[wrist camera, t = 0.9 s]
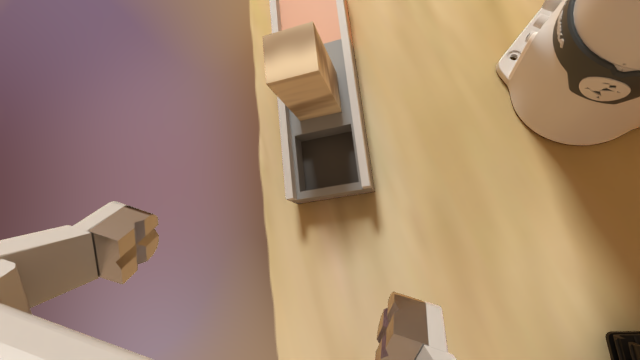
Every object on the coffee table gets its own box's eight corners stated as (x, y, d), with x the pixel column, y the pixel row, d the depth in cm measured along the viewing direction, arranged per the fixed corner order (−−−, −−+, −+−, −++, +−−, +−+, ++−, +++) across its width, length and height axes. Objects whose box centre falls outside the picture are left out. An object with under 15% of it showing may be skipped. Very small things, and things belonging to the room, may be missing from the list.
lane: (374, 191, 45) (369, 185, 41) (297, 203, 48) (285, 199, 43) (345, -7, 52) (338, -30, 48) (280, 13, 55) (268, -7, 51)
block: (341, 111, 45) (318, 70, 35) (300, 120, 47) (266, 83, 36) (336, 72, 47) (312, 21, 36) (296, 82, 48) (262, 36, 38)
